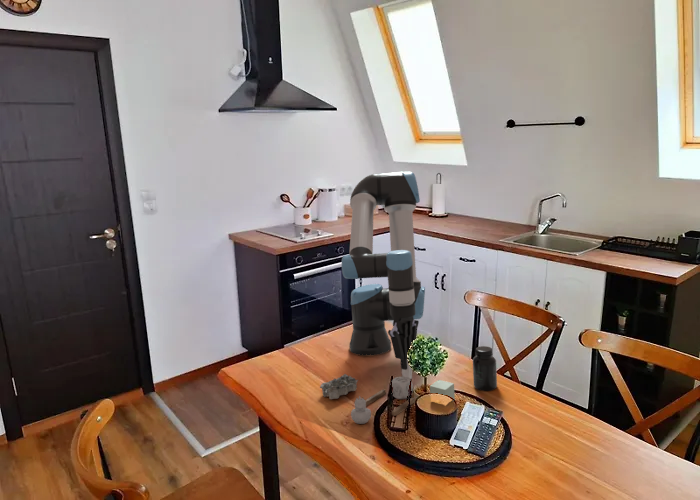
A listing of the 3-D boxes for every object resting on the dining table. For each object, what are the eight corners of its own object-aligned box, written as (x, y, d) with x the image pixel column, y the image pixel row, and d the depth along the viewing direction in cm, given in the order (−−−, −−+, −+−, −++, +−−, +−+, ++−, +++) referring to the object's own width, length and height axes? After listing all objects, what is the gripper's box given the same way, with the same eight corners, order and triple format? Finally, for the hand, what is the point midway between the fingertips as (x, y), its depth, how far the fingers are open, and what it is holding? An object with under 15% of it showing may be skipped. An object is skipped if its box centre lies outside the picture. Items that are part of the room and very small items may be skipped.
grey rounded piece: (350, 427, 133) (348, 399, 131) (352, 415, 139) (350, 388, 138) (371, 427, 132) (368, 398, 131) (372, 415, 138) (370, 388, 137)
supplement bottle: (488, 380, 155) (487, 343, 154) (501, 388, 149) (500, 350, 147) (469, 384, 153) (467, 347, 152) (481, 393, 147) (480, 354, 145)
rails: (383, 393, 152) (382, 389, 152) (415, 402, 144) (414, 398, 144) (362, 405, 145) (362, 401, 144) (394, 416, 137) (394, 412, 137)
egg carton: (332, 401, 147) (330, 388, 147) (319, 395, 154) (317, 382, 153) (361, 389, 153) (359, 376, 153) (347, 383, 159) (345, 371, 159)
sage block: (439, 395, 147) (438, 379, 147) (454, 399, 144) (453, 383, 143) (430, 402, 144) (429, 385, 143) (445, 406, 140) (445, 389, 140)
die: (400, 390, 153) (399, 375, 152) (413, 394, 149) (412, 378, 149) (390, 396, 149) (389, 381, 148) (404, 400, 146) (403, 384, 145)
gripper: (404, 296, 155) (408, 368, 158) (378, 306, 145) (384, 383, 149) (424, 298, 150) (429, 373, 153) (399, 309, 140) (405, 388, 144)
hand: (407, 378), depth 151 cm, fingers closed
